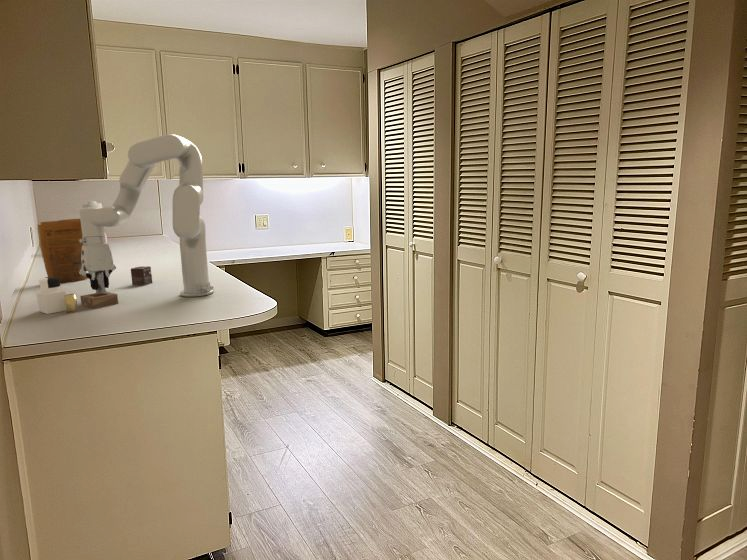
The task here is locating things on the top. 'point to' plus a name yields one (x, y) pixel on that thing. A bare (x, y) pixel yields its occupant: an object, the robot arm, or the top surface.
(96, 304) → the hole block
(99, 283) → the long peg
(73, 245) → the pancake mix bag
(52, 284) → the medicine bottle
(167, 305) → the top surface
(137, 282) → the box
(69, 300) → the short peg
